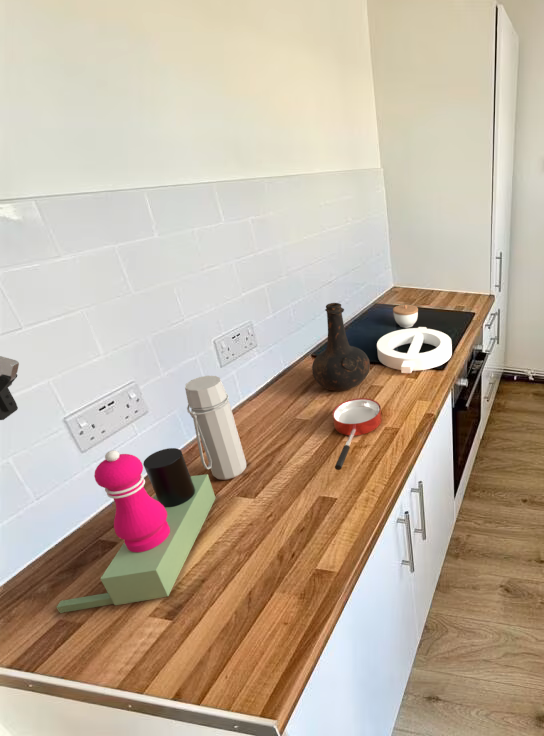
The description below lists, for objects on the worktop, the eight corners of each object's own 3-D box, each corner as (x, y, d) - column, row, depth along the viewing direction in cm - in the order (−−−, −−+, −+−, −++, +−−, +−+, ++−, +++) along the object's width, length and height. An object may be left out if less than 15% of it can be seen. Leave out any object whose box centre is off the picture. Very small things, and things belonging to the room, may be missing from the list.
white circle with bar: (405, 378, 149) (404, 366, 147) (363, 351, 166) (362, 340, 164) (466, 355, 168) (466, 344, 166) (423, 333, 185) (423, 322, 183)
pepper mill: (113, 549, 76) (67, 461, 68) (152, 518, 83) (115, 434, 74) (145, 559, 75) (104, 470, 66) (183, 527, 81) (149, 442, 73)
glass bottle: (326, 404, 133) (312, 320, 121) (307, 380, 145) (292, 301, 133) (380, 386, 144) (373, 307, 132) (358, 366, 156) (349, 292, 143)
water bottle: (229, 458, 109) (203, 372, 98) (255, 465, 107) (232, 378, 96) (197, 483, 101) (164, 392, 90) (224, 490, 99) (195, 398, 88)
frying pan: (380, 480, 105) (378, 460, 102) (322, 488, 102) (319, 467, 99) (382, 408, 132) (380, 390, 130) (337, 412, 129) (334, 394, 126)
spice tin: (153, 509, 85) (136, 470, 80) (167, 487, 90) (152, 449, 86) (188, 505, 86) (173, 466, 82) (200, 484, 91) (186, 446, 87)
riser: (58, 615, 73) (40, 588, 69) (132, 508, 93) (121, 484, 90) (168, 596, 76) (156, 570, 73) (215, 498, 97) (207, 474, 94)
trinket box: (405, 318, 199) (404, 299, 195) (423, 324, 194) (422, 304, 190) (388, 325, 190) (387, 305, 186) (407, 331, 186) (406, 311, 181)
